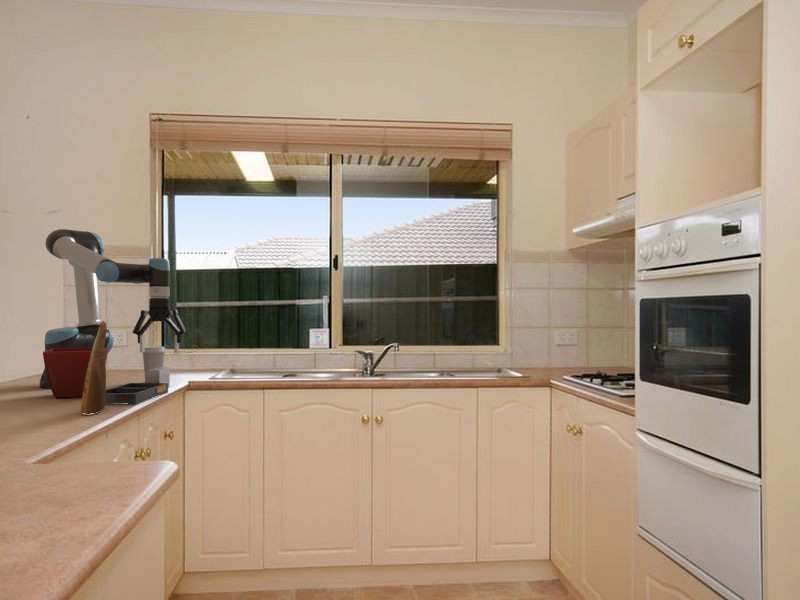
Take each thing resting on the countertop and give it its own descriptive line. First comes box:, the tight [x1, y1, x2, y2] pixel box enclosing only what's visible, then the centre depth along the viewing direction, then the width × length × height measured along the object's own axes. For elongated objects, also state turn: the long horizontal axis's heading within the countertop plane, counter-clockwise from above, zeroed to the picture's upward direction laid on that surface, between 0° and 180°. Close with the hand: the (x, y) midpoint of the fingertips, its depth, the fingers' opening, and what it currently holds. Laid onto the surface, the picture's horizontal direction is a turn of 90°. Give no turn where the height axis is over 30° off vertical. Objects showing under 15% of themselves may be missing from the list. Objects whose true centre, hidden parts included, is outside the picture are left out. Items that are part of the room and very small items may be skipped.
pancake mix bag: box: [80, 320, 108, 414], centre depth 191 cm, size 7×19×28 cm, turn 16°
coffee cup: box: [141, 345, 166, 383], centre depth 260 cm, size 10×10×15 cm
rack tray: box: [105, 382, 169, 405], centre depth 218 cm, size 15×28×4 cm, turn 179°
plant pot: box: [42, 347, 109, 398], centre depth 223 cm, size 19×19×17 cm
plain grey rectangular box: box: [148, 366, 171, 389], centre depth 241 cm, size 4×10×8 cm, turn 179°
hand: (159, 351), depth 241 cm, fingers open, 13 cm apart
